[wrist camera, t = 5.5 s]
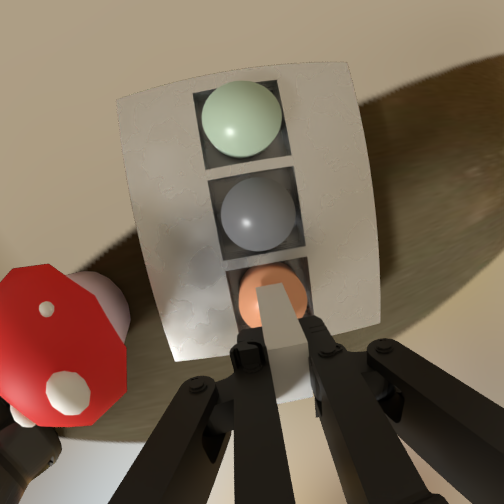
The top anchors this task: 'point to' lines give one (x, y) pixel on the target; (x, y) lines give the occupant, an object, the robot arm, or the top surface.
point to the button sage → (241, 118)
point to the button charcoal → (258, 214)
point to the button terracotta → (268, 276)
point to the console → (231, 173)
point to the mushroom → (61, 346)
